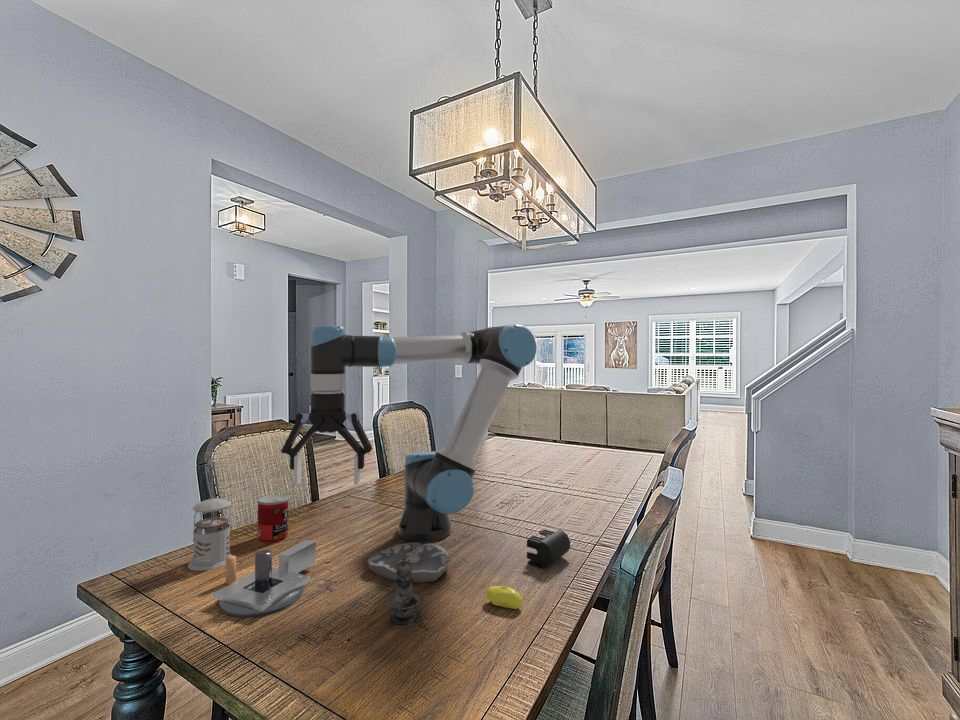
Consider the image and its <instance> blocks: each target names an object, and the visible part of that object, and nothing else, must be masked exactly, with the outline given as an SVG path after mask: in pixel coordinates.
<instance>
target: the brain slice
mask: <svg viewBox="0 0 960 720" xmlns="http://www.w3.org/2000/svg"><path fill="white" fill-rule="evenodd" d="M404 557H405V558H406V561H409V562H410V563H411V564H412V578H413V579H414V582H413V583H431V582H432V583H433V582H435V581H436V580H438V579H439V578H440V577H441V576H442V575H443V574H444V572H445V571H446V570H447V568H448V566H449V565H450V564H451V562H452V560H453V557H452V556H450V553H449V552H447V551H446V549H445V548H443V547H442V546H441V545H439V544H436V543H432V542H426V543H423V544H422V542H418V541H408V542H405V543H398V544H395V545H393V546H388V547H387V548H384V549H381V550H377V551H376V552H374V553H372V554H371V555H369V558H368V559H367V565H368V567H369V569H370V570H371V571H372V572H373V573H374V574H375V575H376V576H379V577H384V578H386V579H388V580H391V581H394V582H395V580H396V579H397V565H398V563H399V562H401V561H403V558H404Z"/></svg>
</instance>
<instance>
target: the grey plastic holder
mask: <svg viewBox="0 0 960 720" xmlns="http://www.w3.org/2000/svg"><path fill="white" fill-rule="evenodd" d="M316 546H317V545H316V541H314V540H309V539H305V540H304V541H303V540H302V541H301V542H299V543H297V544H296V545H293V546H291V547H290V548H287V549H286V550H283V551H281V552H280V553H278V568H276V567H275V568H274V567H272V583H276V584H278V585H276V586H274V587H273V588H271V589H269V590H267V591H266V592H264V593H259V592H255V591H251V590H248V589H250V588H252V587H254V586H255V571H252V572H251V573H249V574H248V575H245V576H243V577H242V578H241V577H240V578H239V579H238V580H237V579H236V581H235V582H233V583H232V584H229V585H228V584H227V585H225V586H223V587H222V588H220V589H218V590H216V591H214V592H213V593H212V598H213V599H214V600H218V601H219V600H221V601H225V602H229V603H232V604H236V605H240V606H243V607H247V608H250V609H254V610H258V611H261V612H262V611H263V610H265V609H266V608H268V607H269V606H271V605H273V604H274V603H276V602H277V601H279V600H281V599H282V598H284V597H285V596H287V595H288V594H290V593H292V592H293V591H295V590H296V589H298V588H299V587H301V586H303V585H304V586H305V585H306V584H307V583H309V582H311V576H310V575H307V574H302V573H301V572H302V571H304V570H306V569H308V568H309V567H311V566H312V565H314V564H315V563H316V562H317V561H316V555H317V554H316V551H317V550H316V548H317V547H316Z"/></svg>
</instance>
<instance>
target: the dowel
mask: <svg viewBox="0 0 960 720" xmlns="http://www.w3.org/2000/svg"><path fill="white" fill-rule="evenodd" d="M235 581H237V556H236V555H233V556H229V557H227V558H226V565H225V584H226V585H227V586H228V585H230V584H232V583H233V582H235Z"/></svg>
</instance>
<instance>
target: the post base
mask: <svg viewBox="0 0 960 720" xmlns="http://www.w3.org/2000/svg"><path fill="white" fill-rule="evenodd" d="M272 568H273V551H272V550H271V549H262V550H259V551H257V552H255V554H254V572H255V586H254V587H252V588H250V589H248V590H251V591H255V592H259V593H264V592H266V591H267V590H269V589H271V588H273V587H274V586H276V585H278V584H276V583H272ZM304 592H305V584H304V585H303V586H301V587H299V588H298V589H296V590H295V591H293V592H292V593H290V594H288V595H287V596H285V597H284V598H282V599H281V600H279V601H277V602H276V603H274V604H273V605H271V606H269V607H268V608H266V609H265V610H263V611H262V612H261V611H258V610H254V609H250V608H247V607H243V606H240V605H236V604H232V603H229V602H225V601H221V600H218V602H219V604H218V605H219V606H218V607H219V609H220V611H221V612H222V614H225V615H226V616H230V617H234V618H255V617H262V616H265V615H270V614H274V613H277V612H279V611H282V610H283V609H286V608H288V607H289V606H291V605H293V604H294V603H296V602H297V601H298V600H299V599H300V598H302V595H304Z"/></svg>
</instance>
